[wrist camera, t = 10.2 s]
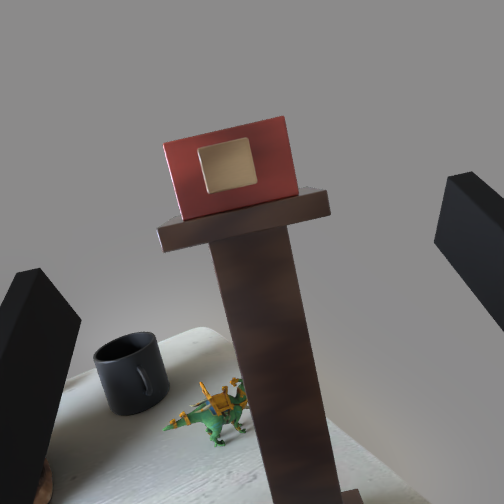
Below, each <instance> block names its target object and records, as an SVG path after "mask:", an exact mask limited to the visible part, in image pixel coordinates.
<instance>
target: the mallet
mask: <svg viewBox="0 0 504 504" xmlns="http://www.w3.org/2000/svg"><path fill="white" fill-rule="evenodd" d="M163 148H164V152H165V156H166V159H167V163H168V167H169V171H170V175H171V178H172V182H173V186H174V189H175V194H176V197H177V201H178V205H179V209H180V213H181V217H182V220H183V221H186V220H191V219H195V218H199V217H204V216H208V215H213V214H217V213H221V212H226V211H230V210H235V209H239V208H244V207H248V206H252V205H257V204H261V203H266V202H270V201H275V200H279V199H283V198H288V197H292V196H297V195H299V190H298V185H297V179H296V174H295V169H294V164H293V159H292V154H291V148H290V143H289V138H288V133H287V128H286V123H285V118H284V116H280V117H275V118H271V119H266V120H262V121H258V122H254V123H249V124H244V125H240V126H236V127H231V128H227V129H223V130H219V131H214V132H210V133H205V134H201V135H197V136H193V137H188V138H183V139H179V140H175V141H170V142H166V143H163Z"/></svg>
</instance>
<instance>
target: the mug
mask: <svg viewBox="0 0 504 504" xmlns="http://www.w3.org/2000/svg"><path fill="white" fill-rule="evenodd" d="M93 359H94V362H95V365H96V368H97V371H98V374H99V377H100V380H101V383H102V386H103V389H104V392H105V395H106V398H107V401H108V404H109V406H110V409H111V410H112V411H113V412H114V413H115V414H118V415H130V414H135V413H138V412H141V411H144V410H146V409H148V408H150V407H152V406H153V405H155V404H157V403H158V402H159V401H160V400H162V399H163V398H164V396H165V395H166V394H167V392H168V390H169V381H168V377H167V374H166V371H165V367H164V364H163V360H162V357H161V354H160V350H159V347H158V344H157V340H156V337H155V335H154V334H153V333H150V332H138V333H132V334H128V335H125V336H122V337H119V338H117V339H115V340H113V341H111V342H109V343H107V344H105V345H104V346H102V347H101V348H100V349H98V350H97V351H96V353H95V354H94V357H93Z"/></svg>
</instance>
